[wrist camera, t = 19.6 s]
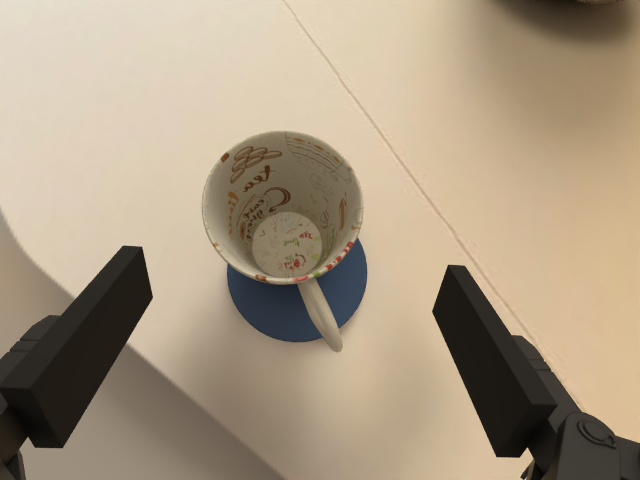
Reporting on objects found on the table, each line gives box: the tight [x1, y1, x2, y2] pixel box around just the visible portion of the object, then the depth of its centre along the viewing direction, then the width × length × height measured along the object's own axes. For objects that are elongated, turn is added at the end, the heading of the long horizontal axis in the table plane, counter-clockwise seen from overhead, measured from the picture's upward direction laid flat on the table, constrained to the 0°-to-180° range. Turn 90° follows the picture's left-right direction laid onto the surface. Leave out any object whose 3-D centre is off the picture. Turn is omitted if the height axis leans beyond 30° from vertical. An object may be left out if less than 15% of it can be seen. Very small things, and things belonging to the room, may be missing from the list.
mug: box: [202, 131, 364, 352], centre depth 22 cm, size 8×13×10 cm, turn 26°
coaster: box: [227, 237, 367, 342], centre depth 27 cm, size 11×11×1 cm
